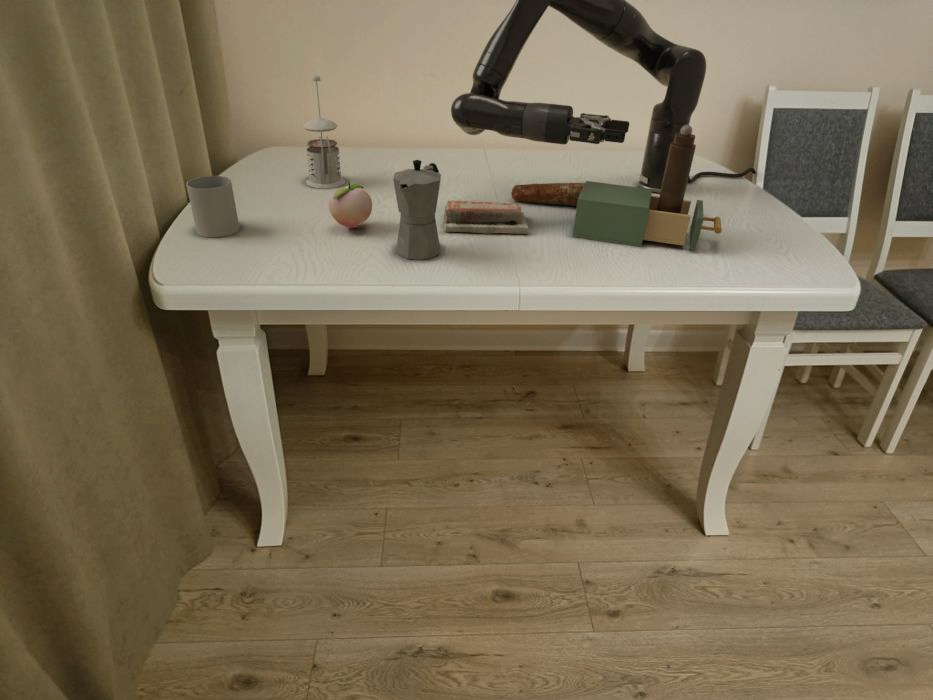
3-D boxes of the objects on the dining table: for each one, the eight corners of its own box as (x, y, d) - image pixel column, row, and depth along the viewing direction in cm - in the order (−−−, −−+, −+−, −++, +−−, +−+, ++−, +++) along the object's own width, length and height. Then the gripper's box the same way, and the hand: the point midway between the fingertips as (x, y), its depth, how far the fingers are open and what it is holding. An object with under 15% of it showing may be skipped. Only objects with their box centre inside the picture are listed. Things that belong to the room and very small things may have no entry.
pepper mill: (665, 224, 135) (688, 121, 123) (680, 232, 131) (705, 126, 119) (648, 227, 133) (669, 123, 121) (663, 236, 129) (687, 128, 118)
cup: (199, 239, 125) (189, 191, 119) (194, 225, 131) (183, 178, 125) (243, 233, 128) (234, 185, 122) (235, 219, 134) (227, 173, 129)
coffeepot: (425, 268, 117) (425, 173, 107) (381, 259, 120) (377, 166, 110) (456, 238, 129) (458, 151, 119) (415, 231, 132) (414, 145, 122)
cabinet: (645, 225, 139) (652, 189, 134) (641, 246, 129) (649, 208, 125) (581, 216, 142) (586, 180, 138) (572, 236, 132) (577, 198, 128)
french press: (342, 174, 162) (334, 71, 148) (349, 189, 153) (341, 80, 139) (303, 177, 159) (292, 71, 146) (309, 191, 150) (297, 81, 137)
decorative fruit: (360, 239, 127) (357, 192, 122) (325, 233, 130) (320, 186, 124) (381, 224, 135) (379, 178, 129) (347, 218, 137) (344, 173, 131)
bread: (590, 210, 146) (593, 187, 143) (509, 204, 148) (511, 181, 145) (590, 201, 151) (593, 179, 148) (512, 195, 153) (513, 172, 150)
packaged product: (443, 211, 129) (444, 195, 137) (443, 233, 132) (444, 216, 140) (530, 213, 130) (525, 197, 138) (528, 235, 132) (523, 218, 141)
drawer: (715, 232, 135) (723, 203, 131) (717, 252, 126) (725, 221, 122) (633, 221, 139) (638, 192, 135) (629, 240, 130) (634, 209, 126)
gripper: (542, 111, 120) (627, 120, 116) (555, 97, 132) (633, 105, 128) (538, 150, 124) (620, 160, 120) (551, 133, 136) (626, 142, 132)
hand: (626, 132), depth 124 cm, fingers open, 8 cm apart
